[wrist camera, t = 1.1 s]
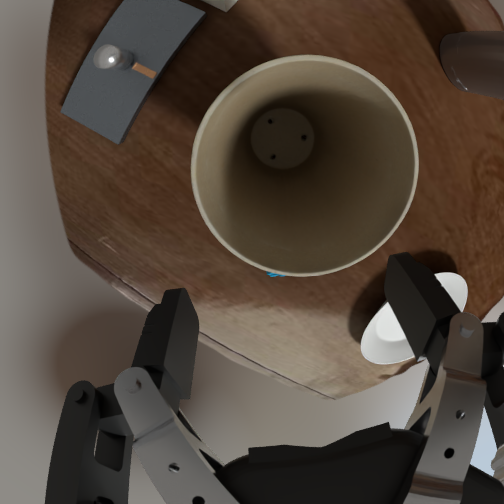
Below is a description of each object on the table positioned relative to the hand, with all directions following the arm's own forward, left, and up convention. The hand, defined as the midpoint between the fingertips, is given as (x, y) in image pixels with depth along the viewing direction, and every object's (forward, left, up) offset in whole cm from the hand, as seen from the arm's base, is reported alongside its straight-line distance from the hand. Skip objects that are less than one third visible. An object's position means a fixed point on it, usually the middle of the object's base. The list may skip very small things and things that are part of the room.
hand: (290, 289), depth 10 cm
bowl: (+5, +42, -24) cm, 48 cm away
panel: (-2, -20, -23) cm, 31 cm away
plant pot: (-3, +1, -24) cm, 24 cm away
